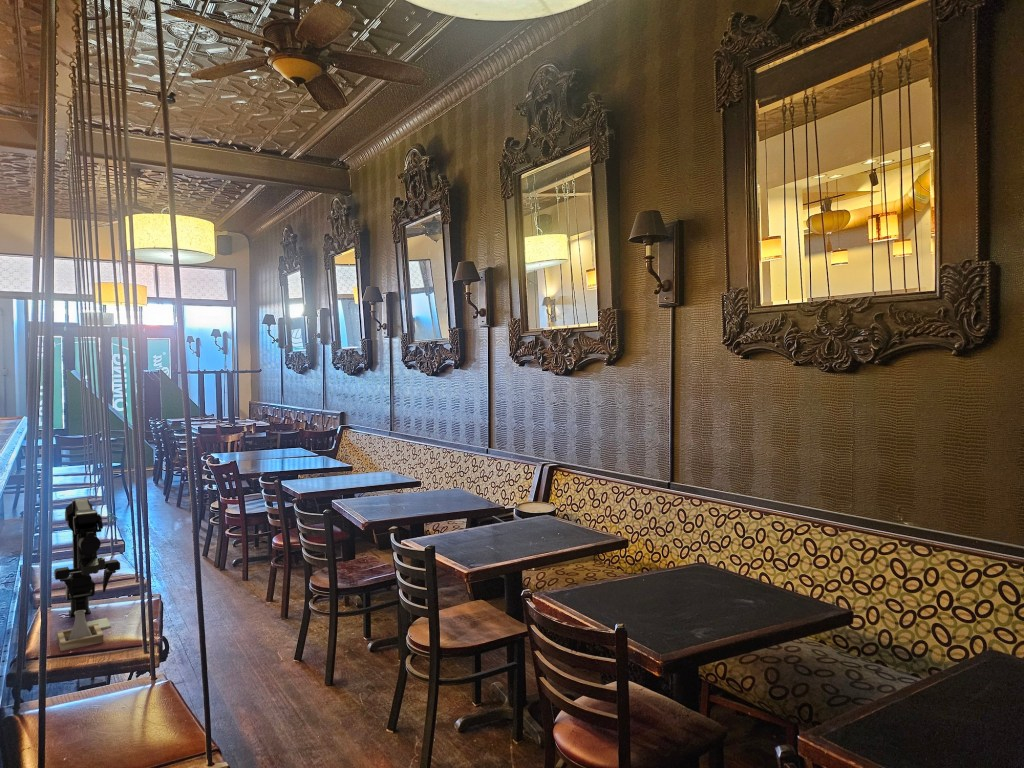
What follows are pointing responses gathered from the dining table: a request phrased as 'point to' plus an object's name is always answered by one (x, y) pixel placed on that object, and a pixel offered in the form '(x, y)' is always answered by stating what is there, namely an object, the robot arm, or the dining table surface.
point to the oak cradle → (80, 641)
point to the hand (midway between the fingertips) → (88, 594)
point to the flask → (80, 626)
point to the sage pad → (100, 623)
